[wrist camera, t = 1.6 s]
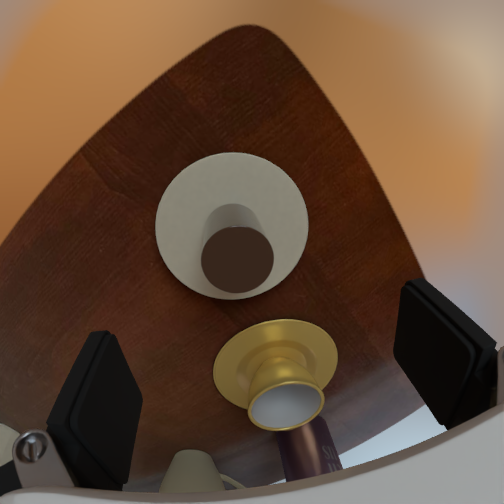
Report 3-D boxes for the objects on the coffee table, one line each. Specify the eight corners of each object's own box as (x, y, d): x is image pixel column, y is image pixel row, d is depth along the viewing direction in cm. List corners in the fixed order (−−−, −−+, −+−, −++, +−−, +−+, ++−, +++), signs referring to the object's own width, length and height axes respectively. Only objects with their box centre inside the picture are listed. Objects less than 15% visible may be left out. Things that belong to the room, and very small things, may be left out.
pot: (-6, 443, 32) (-21, 477, 24) (-18, 411, 29) (-38, 450, 21) (43, 467, 34) (31, 505, 26) (36, 440, 31) (20, 483, 23)
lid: (141, 266, 24) (119, 310, 18) (188, 129, 21) (176, 127, 14) (269, 308, 26) (284, 359, 20) (327, 186, 23) (365, 207, 17)
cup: (198, 332, 27) (196, 374, 22) (334, 302, 27) (357, 338, 22) (228, 417, 31) (232, 456, 26) (336, 393, 31) (352, 429, 26)
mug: (193, 481, 36) (194, 550, 25) (144, 451, 33) (135, 531, 21) (258, 459, 35) (271, 537, 24) (211, 426, 31) (216, 519, 20)
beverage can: (264, 431, 33) (286, 544, 19) (302, 404, 31) (340, 522, 18) (298, 444, 34) (325, 544, 21) (334, 419, 33) (374, 523, 19)
